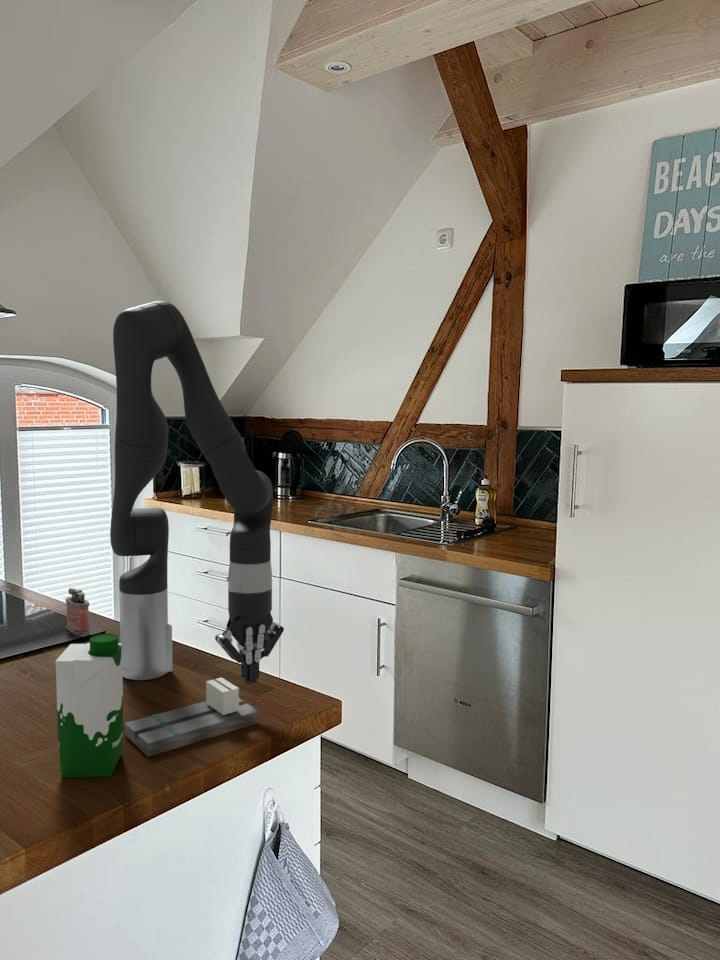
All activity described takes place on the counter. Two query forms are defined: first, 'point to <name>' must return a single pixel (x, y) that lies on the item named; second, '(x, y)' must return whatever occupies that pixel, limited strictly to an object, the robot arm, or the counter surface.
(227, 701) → the slider knob
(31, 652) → the counter surface
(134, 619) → the robot arm
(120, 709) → the milk carton
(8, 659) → the counter surface
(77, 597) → the lighter
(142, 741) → the slider panel
